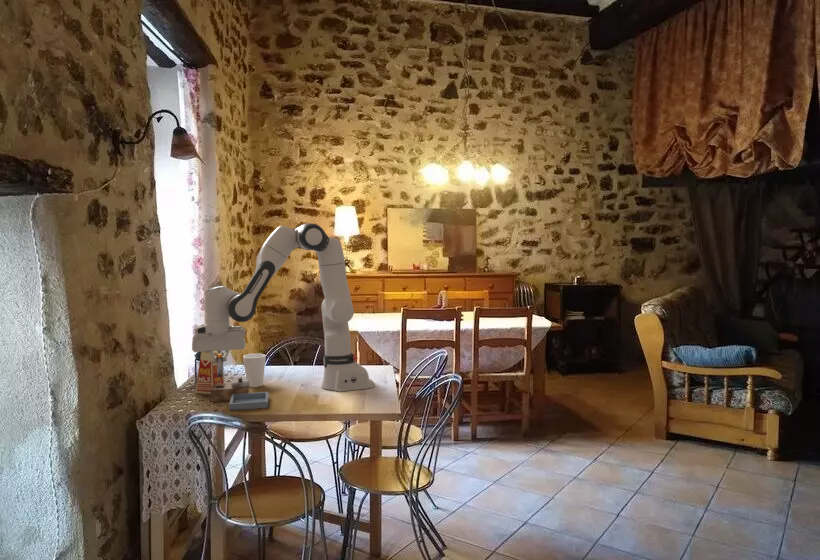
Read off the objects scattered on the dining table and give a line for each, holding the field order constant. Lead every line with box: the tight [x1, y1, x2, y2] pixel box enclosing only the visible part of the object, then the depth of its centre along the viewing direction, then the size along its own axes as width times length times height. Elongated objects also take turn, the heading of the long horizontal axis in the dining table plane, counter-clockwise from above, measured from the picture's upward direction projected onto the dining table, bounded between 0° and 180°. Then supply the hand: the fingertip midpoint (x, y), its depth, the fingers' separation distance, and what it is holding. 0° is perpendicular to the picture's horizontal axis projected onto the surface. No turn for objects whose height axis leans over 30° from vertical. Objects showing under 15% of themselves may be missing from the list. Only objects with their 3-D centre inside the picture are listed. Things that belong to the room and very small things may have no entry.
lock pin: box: [216, 353, 225, 378], centre depth 239 cm, size 2×2×9 cm
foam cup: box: [242, 353, 267, 388], centre depth 259 cm, size 10×9×13 cm
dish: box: [228, 391, 270, 412], centre depth 231 cm, size 14×14×2 cm
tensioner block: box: [210, 377, 250, 402], centre depth 241 cm, size 14×8×8 cm, turn 102°
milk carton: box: [194, 351, 225, 395], centre depth 250 cm, size 9×9×20 cm
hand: (219, 361), depth 239 cm, fingers closed on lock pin, 2 cm apart
